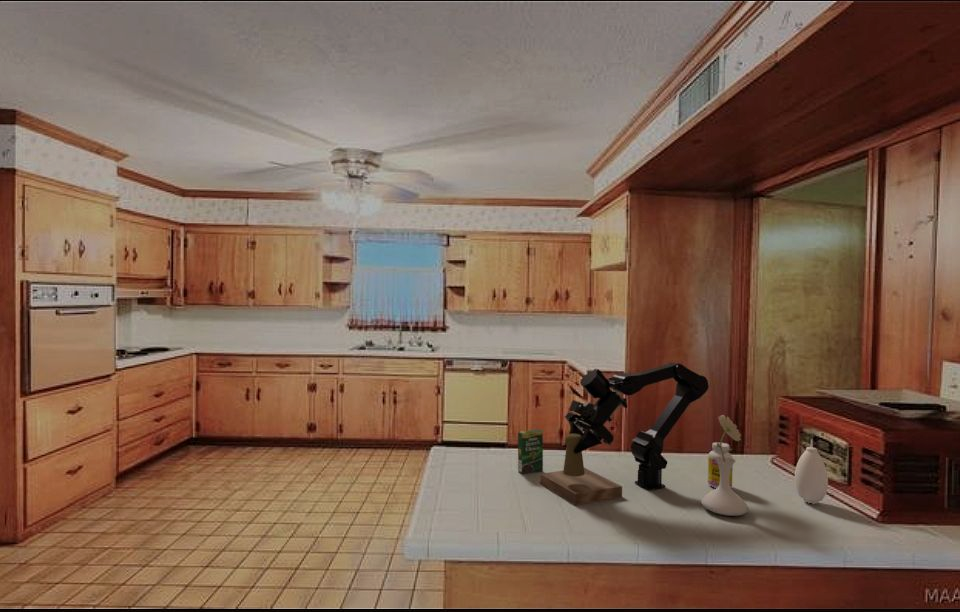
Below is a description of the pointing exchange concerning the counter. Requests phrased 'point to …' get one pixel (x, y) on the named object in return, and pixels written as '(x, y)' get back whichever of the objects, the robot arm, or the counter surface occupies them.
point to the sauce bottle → (811, 476)
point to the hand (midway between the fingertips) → (569, 450)
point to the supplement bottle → (714, 467)
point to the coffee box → (530, 451)
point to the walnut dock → (581, 486)
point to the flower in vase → (725, 480)
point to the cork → (573, 457)
